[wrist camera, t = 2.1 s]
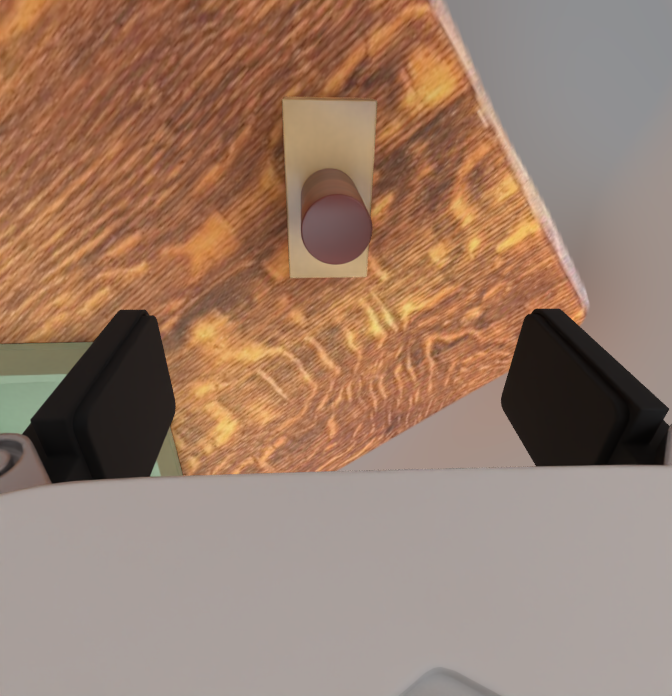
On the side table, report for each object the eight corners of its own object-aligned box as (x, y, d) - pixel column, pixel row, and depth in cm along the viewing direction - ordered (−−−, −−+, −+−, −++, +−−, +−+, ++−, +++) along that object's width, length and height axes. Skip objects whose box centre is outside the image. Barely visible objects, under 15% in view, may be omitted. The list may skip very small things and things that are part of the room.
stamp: (283, 95, 23) (276, 106, 15) (368, 96, 23) (401, 108, 16) (290, 258, 27) (287, 326, 20) (360, 257, 28) (382, 324, 20)
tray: (-53, 344, 29) (-96, 378, 26) (148, 340, 30) (129, 372, 27) (39, 507, 38) (15, 546, 35) (189, 500, 39) (179, 537, 36)
